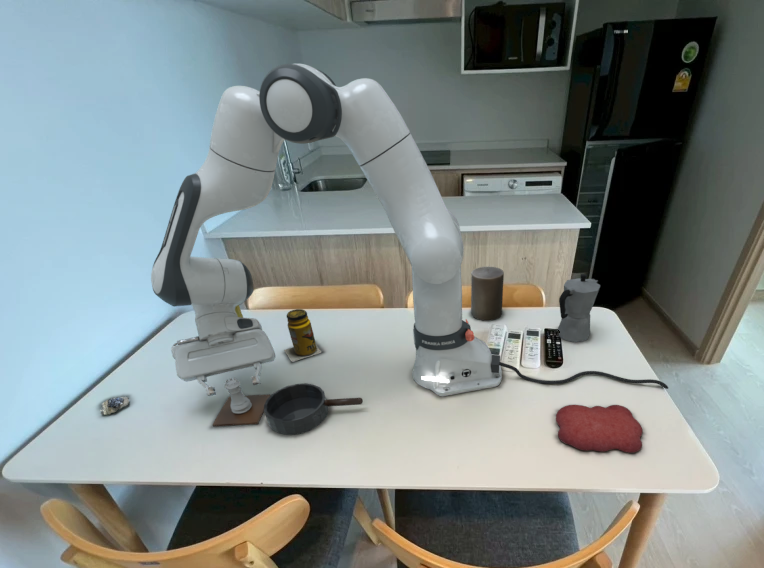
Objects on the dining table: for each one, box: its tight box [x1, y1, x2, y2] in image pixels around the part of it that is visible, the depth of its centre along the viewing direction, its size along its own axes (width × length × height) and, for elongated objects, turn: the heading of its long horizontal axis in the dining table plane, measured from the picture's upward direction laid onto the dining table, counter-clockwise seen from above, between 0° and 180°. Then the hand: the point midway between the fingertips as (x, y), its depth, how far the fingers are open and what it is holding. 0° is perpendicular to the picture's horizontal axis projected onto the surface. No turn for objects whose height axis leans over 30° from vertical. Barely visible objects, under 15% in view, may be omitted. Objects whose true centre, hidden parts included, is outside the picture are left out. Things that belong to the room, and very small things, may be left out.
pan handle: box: [325, 397, 364, 407], centre depth 92 cm, size 9×2×2 cm, turn 92°
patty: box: [555, 404, 643, 454], centre depth 86 cm, size 18×14×2 cm
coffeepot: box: [557, 273, 601, 343], centre depth 112 cm, size 15×9×18 cm, turn 129°
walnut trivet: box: [212, 393, 272, 428], centre depth 96 cm, size 10×10×1 cm
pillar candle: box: [470, 265, 505, 322], centre depth 126 cm, size 10×10×15 cm
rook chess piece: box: [224, 377, 252, 414], centre depth 93 cm, size 4×4×8 cm
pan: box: [263, 382, 329, 436], centre depth 93 cm, size 13×13×4 cm
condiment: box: [283, 308, 322, 363], centre depth 112 cm, size 7×8×12 cm
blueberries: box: [99, 396, 130, 416], centre depth 98 cm, size 7×8×2 cm
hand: (234, 389), depth 92 cm, fingers open, 8 cm apart
